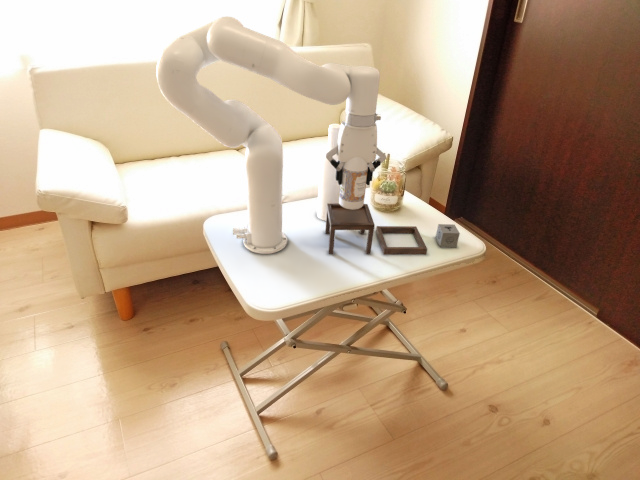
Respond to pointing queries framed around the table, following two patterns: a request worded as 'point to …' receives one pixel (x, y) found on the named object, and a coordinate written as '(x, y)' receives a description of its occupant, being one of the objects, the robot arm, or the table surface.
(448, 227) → the dice cube
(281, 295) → the table surface
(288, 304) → the table surface
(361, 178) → the bath foam
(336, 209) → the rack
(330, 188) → the bottle
